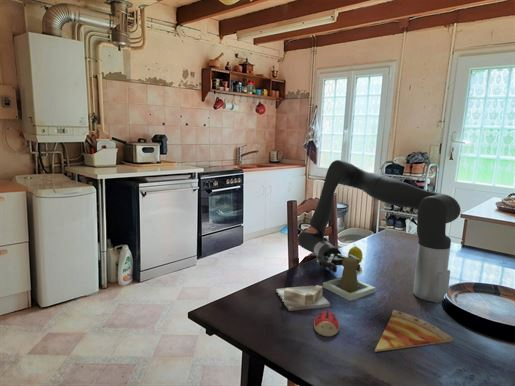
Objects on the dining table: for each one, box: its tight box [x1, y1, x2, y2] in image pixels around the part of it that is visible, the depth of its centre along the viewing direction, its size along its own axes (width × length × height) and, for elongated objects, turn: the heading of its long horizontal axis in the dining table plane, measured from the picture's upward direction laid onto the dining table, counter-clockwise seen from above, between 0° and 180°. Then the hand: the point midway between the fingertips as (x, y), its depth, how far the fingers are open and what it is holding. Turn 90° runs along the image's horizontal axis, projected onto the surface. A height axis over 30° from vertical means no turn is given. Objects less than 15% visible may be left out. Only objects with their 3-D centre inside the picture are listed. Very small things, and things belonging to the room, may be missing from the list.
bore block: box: [322, 276, 376, 302], centre depth 121 cm, size 12×12×2 cm
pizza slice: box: [374, 309, 453, 353], centre depth 97 cm, size 16×22×2 cm
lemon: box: [347, 245, 363, 264], centre depth 142 cm, size 6×6×8 cm
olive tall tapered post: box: [339, 256, 360, 293], centre depth 120 cm, size 6×6×11 cm
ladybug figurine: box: [313, 310, 340, 337], centre depth 97 cm, size 7×10×4 cm
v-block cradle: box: [275, 284, 331, 312], centre depth 113 cm, size 13×13×4 cm
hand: (347, 268), depth 122 cm, fingers open, 8 cm apart
